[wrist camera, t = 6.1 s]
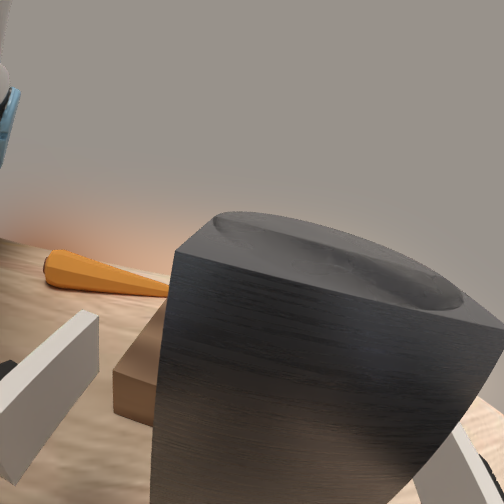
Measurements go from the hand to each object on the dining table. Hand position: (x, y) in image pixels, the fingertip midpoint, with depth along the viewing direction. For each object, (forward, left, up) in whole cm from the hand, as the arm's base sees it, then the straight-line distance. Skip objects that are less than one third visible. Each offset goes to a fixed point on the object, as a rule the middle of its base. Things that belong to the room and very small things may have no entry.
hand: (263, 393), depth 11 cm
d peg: (+3, -2, -10) cm, 10 cm away
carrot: (-27, +3, -10) cm, 29 cm away
